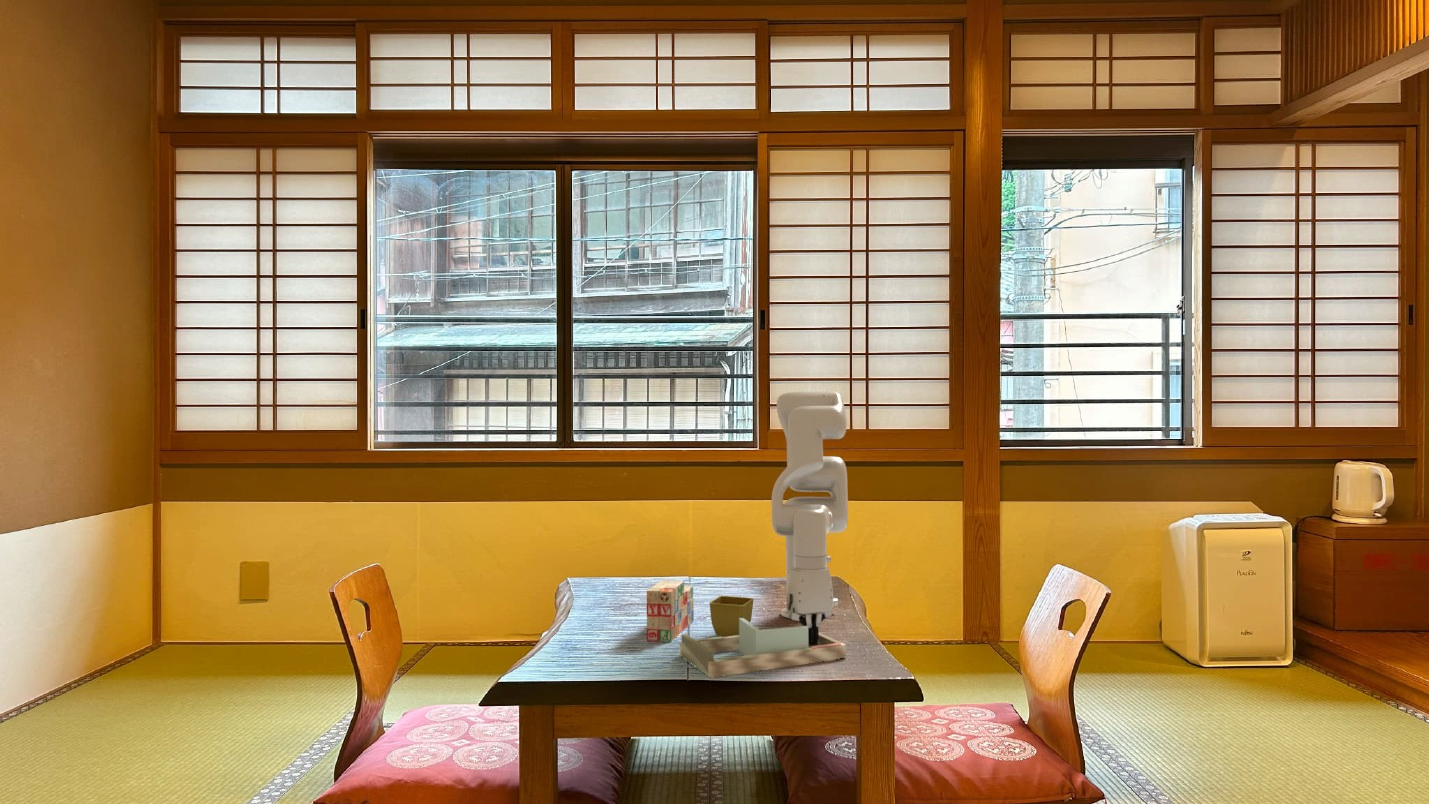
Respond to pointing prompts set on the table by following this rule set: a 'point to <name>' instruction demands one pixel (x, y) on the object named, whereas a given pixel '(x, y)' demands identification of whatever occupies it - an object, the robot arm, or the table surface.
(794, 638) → the l-shaped corner panel
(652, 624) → the stack of blocks
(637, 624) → the table surface
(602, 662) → the table surface
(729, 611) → the flower pot
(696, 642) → the box
